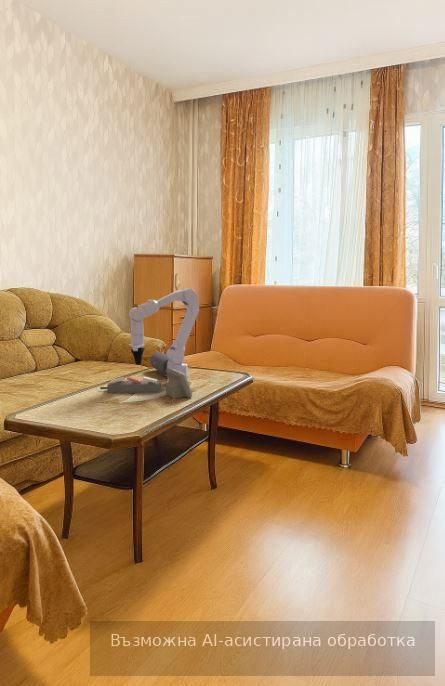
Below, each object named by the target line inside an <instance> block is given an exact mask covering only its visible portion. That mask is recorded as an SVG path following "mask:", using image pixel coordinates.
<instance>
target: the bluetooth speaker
mask: <svg viewBox="0 0 445 686" xmlns="http://www.w3.org/2000/svg"><path fill="white" fill-rule="evenodd" d="M167 362H168V359H167V358H166V353H163V352H159V351H156V352H153V353H152V354H151V355H150V358H149V363H150V365H151V366H152V368H154V369H155V370H156V371H158V373H159V374H160V375H161V376H165V377H168V375H167V373H166V370H167Z"/></svg>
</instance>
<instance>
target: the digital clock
mask: <svg viewBox="0 0 445 686" xmlns="http://www.w3.org/2000/svg"><path fill="white" fill-rule="evenodd" d="M166 373H167V375H168V376H167V380H168V379H169V382H168V383H166V382H165V394H166V395H167V396H169V397H172V398H174V399H180V398H187V399H189V398H192V397H193V392H192V389H191V387H190V384H189V380H188V381H187V378H186V375H185V374H184V373H182V372H179V371H177V370H174V369H172V368H168V369H167V370H166Z"/></svg>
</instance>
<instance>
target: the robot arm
mask: <svg viewBox="0 0 445 686" xmlns="http://www.w3.org/2000/svg"><path fill="white" fill-rule="evenodd" d="M199 298H200V296H199V295H198V293H197V291H196V290H195V289H193V288H186V287H185V288H181V289H178V290H176V291H173V292H171V293H169V294H167V295H165V296H162V297H161V298H160V299H157V300H155V299H148V300H146V301H147V302H144V303H142V304H138V305H137V307H132V308H130V310H129V313H128V317H129V318H130V343H128V347H131V349H130V352H131V353H132V356H133V359H134V362H135V365H137V366H138V365H140V366H141V364H142V362H143V361H142V359H143V354H144V351H145V349H146V348H145V329H144V319H145V318H147V317H149V316H151V315H153V314H155V313H157V312H159V310H160V308H161V307H163V306H165V305H166V306H167V305H168V304H171V303H174V302H175V301H177V302H182V303H183V305H184V306H185V308H186V313H185V315H184V317H183V320H182V322H181V325H180V327H179V330H178V332H177V335H176V337H175V340H174V341H173V342H172V343H171V344H170V347H169V348H168V349H167V350H166V352H165V354H166V358H167V359H168V362H167V369H168V368H172V369H174V370H177V371H179V372H182V373H184V374H185V375H186V378H187V381H188V382H189V373H188V371H189V370H188V364H187V363H184V362H183V361H184V359H185V352H186V345H187V341H188V339H189V337H190V334H191V332H192V329H193V326H194V325H195V322H196V319H197V317H198V315H199V312H200V304H199V302H200V301H199ZM168 382H169V379H168V378H167V380H166V382H165V384H166V383H168Z"/></svg>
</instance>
